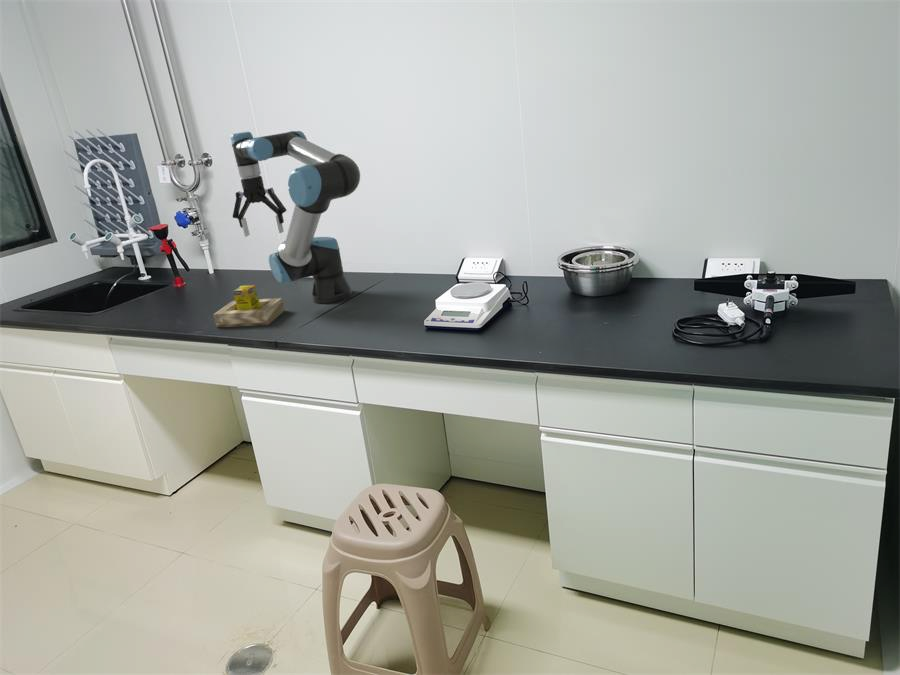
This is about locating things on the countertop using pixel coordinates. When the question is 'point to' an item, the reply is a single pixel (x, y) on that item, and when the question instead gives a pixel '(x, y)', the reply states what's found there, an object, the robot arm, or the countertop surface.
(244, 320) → the wooden tray
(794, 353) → the countertop surface
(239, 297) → the supplement box
